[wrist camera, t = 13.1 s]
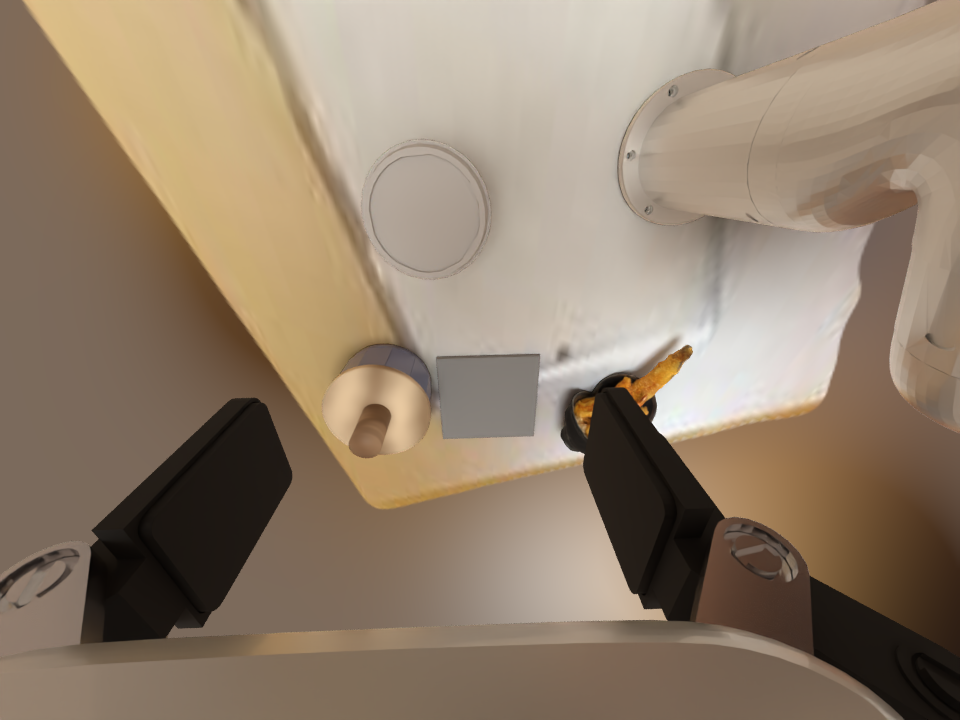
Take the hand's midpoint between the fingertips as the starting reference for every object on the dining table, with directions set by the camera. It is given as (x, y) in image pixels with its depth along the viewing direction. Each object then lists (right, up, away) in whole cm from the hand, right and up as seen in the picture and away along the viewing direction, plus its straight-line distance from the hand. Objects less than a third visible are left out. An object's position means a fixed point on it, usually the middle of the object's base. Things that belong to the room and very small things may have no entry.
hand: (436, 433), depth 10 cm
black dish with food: (+19, -2, +36) cm, 41 cm away
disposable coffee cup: (-3, +18, +25) cm, 31 cm away
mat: (+2, -3, +36) cm, 36 cm away
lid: (-10, -4, +29) cm, 31 cm away
